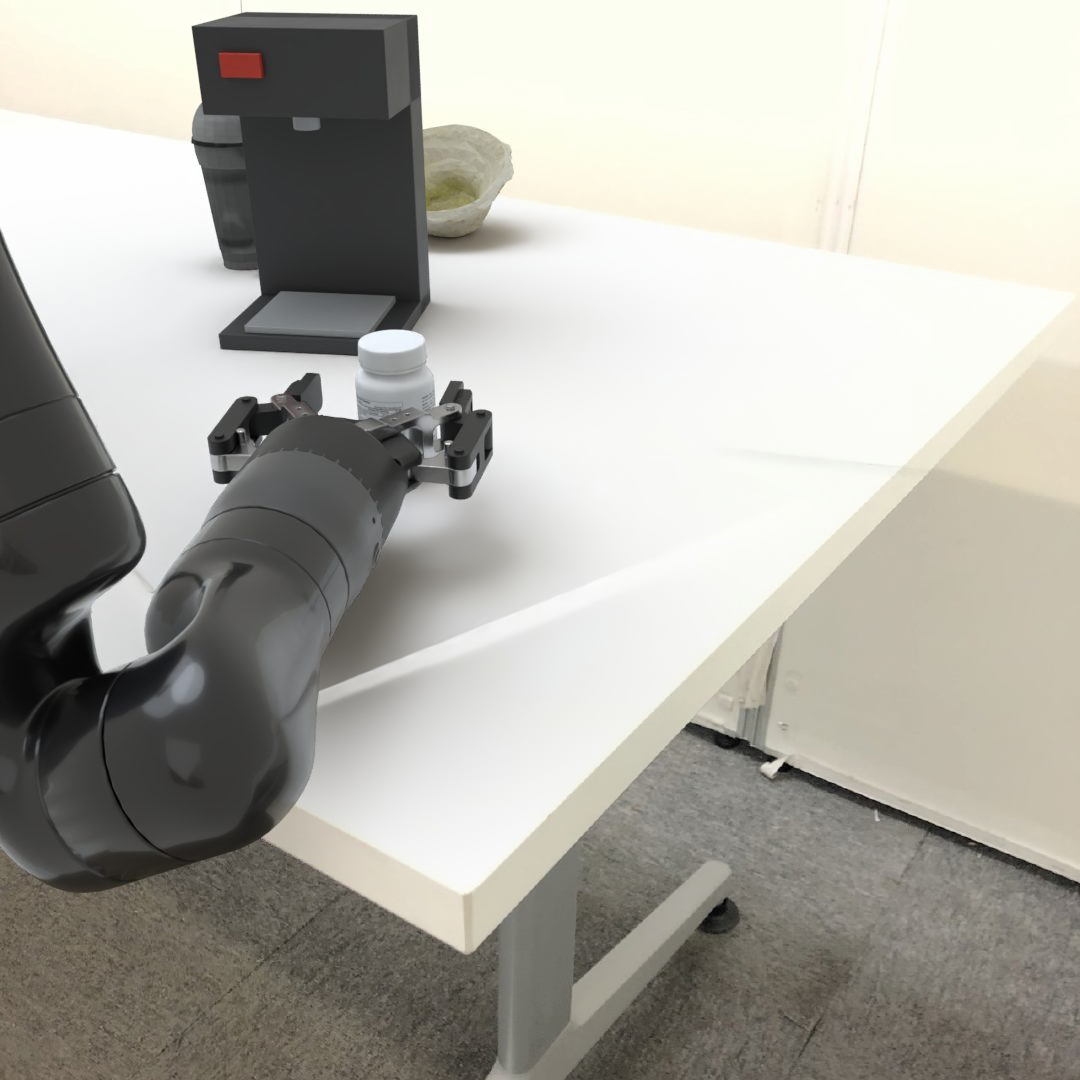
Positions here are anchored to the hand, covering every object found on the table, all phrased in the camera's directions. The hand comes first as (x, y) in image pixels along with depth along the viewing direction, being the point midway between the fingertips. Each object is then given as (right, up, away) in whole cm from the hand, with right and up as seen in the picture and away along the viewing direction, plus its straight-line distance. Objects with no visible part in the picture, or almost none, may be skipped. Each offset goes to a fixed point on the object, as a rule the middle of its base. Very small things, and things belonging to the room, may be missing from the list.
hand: (386, 391), depth 66 cm
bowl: (-1, +23, +53) cm, 58 cm away
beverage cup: (-19, +18, +43) cm, 51 cm away
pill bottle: (0, -4, +5) cm, 6 cm away
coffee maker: (-8, +9, +28) cm, 31 cm away
